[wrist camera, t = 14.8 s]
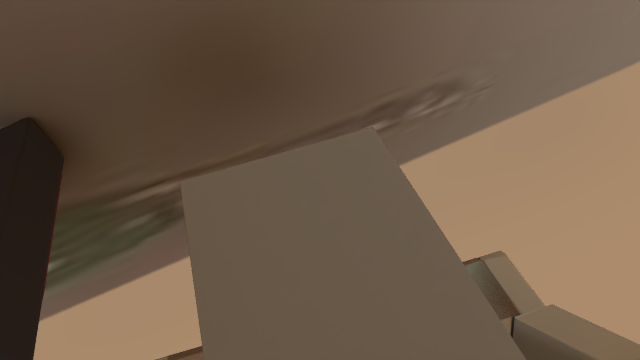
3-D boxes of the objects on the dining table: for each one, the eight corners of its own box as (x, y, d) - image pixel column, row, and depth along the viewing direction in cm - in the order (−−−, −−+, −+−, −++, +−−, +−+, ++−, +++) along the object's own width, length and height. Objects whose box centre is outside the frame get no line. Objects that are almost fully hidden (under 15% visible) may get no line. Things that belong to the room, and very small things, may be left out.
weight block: (229, 311, 16) (286, 608, 10) (179, 181, 13) (223, 495, 8) (388, 261, 16) (521, 520, 11) (372, 126, 14) (542, 383, 8)
